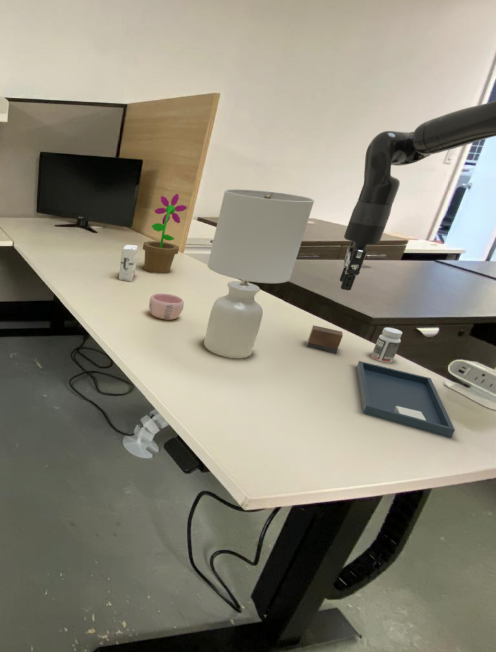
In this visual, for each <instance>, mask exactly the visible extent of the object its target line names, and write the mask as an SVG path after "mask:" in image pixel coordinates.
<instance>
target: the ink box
mask: <svg viewBox="0 0 496 652" xmlns="http://www.w3.org/2000/svg"><path fill="white" fill-rule="evenodd" d="M138 250H139V246H138V245H134V244H125V245H124V247H123V248H122V249H121V257H120V264H119V273H118V280H119V281H125V282H130V283H131V282H132V280H133V279H134V277H135V275H136V266H137V258H138Z"/></svg>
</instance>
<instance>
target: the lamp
mask: <svg viewBox="0 0 496 652" xmlns="http://www.w3.org/2000/svg"><path fill="white" fill-rule="evenodd" d="M314 203H315V199H313V198H312V197H308V196H303V195H297V194H291V193H285V192H277V191H268V190H257V189H245V188H244V189H241V188H229V189H228V188H227V189H225V190H224V192H223V197H222V202H221V205H220V210H219V215H218V219H217V223H216V228H215V232H214V236H213V240H212V245H211V249H210V252H209V259H208V261H207V268H208V269H209V270H210V271H212V272H214V273H216V274H218V275H221V276H225V277H226V278H227V277H228V278H231V279H235V280H232V281H229V282H227V288H228V293H227V294H226V295H222V296H220V297H218V298H216V300H214V302H213V305H212V307H211V310H210V314H209V317H208V321H207V324H206V325H207V326H206V329H205V335H204V341H203V345H204V347H205V349H206V350H208V352H211V353H213V354H215V355H216V356H217V355H218V356H219V357H224V358H229V359H246V358H248V357H250V356H251V355H252V352H253V349H254V346H255V344H256V340H257V338H258V334H259V331H260V327H261V324H262V321H263V314H264V313H263V311H264V310H263V307H262V306H261V304H259V303H258V302H257V301H256V299H255V296H256V295H257V294H258V293H259V292H260V291H261V288H260V287H259V286H258V285H257V284H254V283H258V284H259V283H260V284H282V283H283V284H284V283H287V282H289V281H290V280H291V277H292V274H293V272H294V271H293V270H294V267H295V264H296V261H297V258H298V255H299V251H300V249H301V245H302V242H303V239H304V235H305V233H306V229H307V226H308V222H309V219H310V216H311V212H312V210H313V206H314Z"/></svg>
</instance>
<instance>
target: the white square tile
mask: <svg viewBox="0 0 496 652" xmlns="http://www.w3.org/2000/svg"><path fill="white" fill-rule="evenodd" d="M394 412H397V413H400V414H404V415H408V416H411V417H415V418H418V419H422V420H426V419H425V417H424V416H423V414H422V412H420V411H416V410H412V409H407V408H403V407H399V406H396V407H395V409H394Z"/></svg>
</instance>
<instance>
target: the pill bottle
mask: <svg viewBox="0 0 496 652" xmlns="http://www.w3.org/2000/svg"><path fill="white" fill-rule="evenodd" d="M402 335H403V331H402V330H399V329H397V328H394V327H383V329H382V332H381V334H380V335H379V336H378V338H377V340H376V343H375V345H374V348H373V350H372V353H371V358H372V359H374V360H376V361H379V362H383V363H388V364H389V363H392V362H393V361H394V359H395V356H396V354H397V352H398V349H399V347H400V344H401V343H402V342H401V341H402V340H401V337H402Z"/></svg>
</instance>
